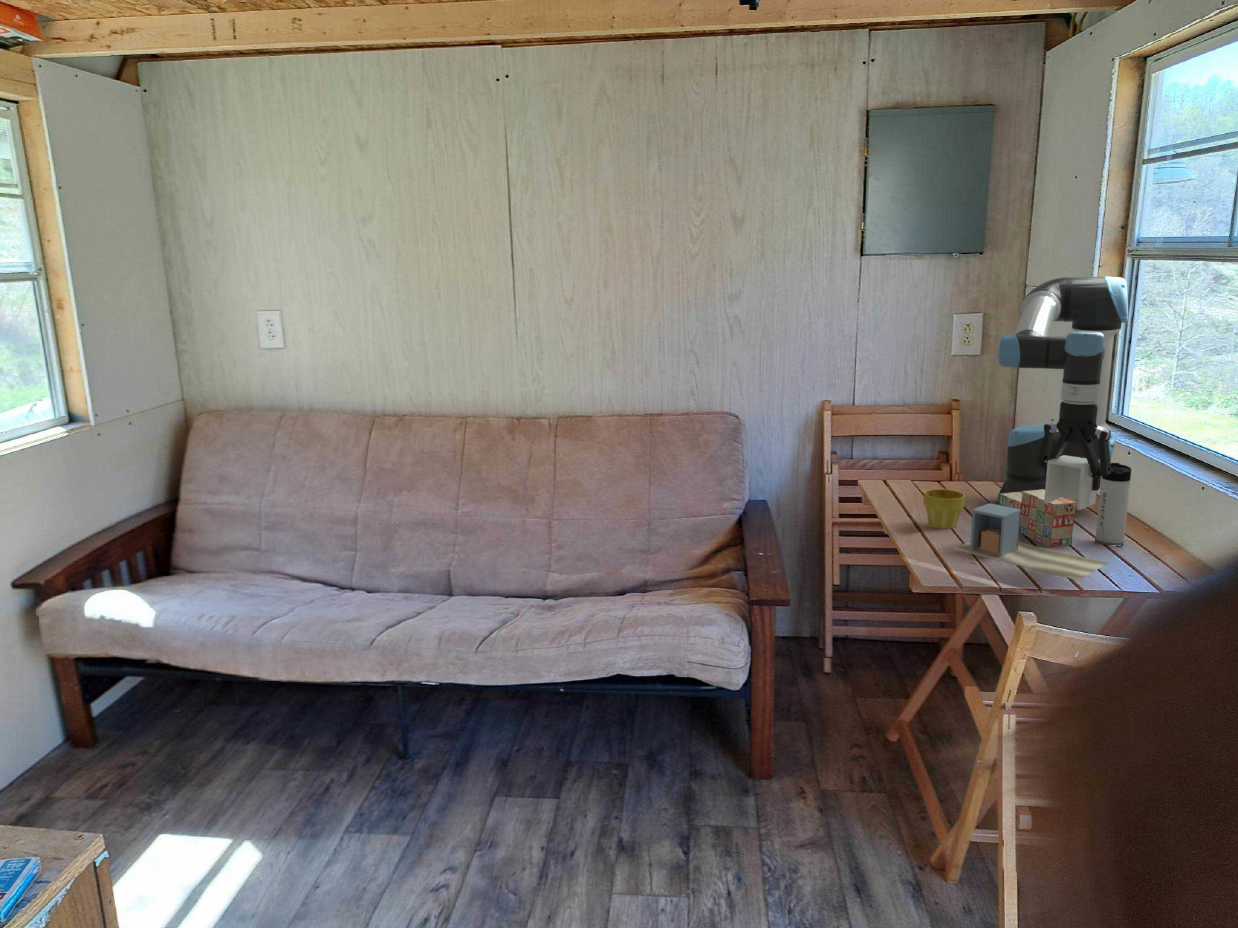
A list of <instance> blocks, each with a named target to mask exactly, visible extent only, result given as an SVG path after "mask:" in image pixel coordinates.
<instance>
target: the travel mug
mask: <svg viewBox="0 0 1238 928" xmlns="http://www.w3.org/2000/svg"><path fill="white" fill-rule="evenodd" d="M1131 476H1132V468H1131V467H1130V466H1128V465H1124V464H1120V463H1119V462H1111V473H1110V474H1107V475H1103V476H1101V483H1100V489H1099V497H1098V498H1099V500H1098V508H1097V509H1098V510H1097V519H1096V530H1095V539H1094V541H1095V543H1096V544H1100V545H1104V546H1108V547H1109V546H1110V545H1122V546H1124V544H1125V537H1126V536H1125V535H1126V528H1127V527H1126V525H1127V518H1128V509H1129V497H1130V490H1131V489H1130V488H1131ZM1123 543H1124V544H1123ZM1110 547H1111V546H1110Z"/></svg>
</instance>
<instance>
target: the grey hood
mask: <svg viewBox="0 0 1238 928" xmlns="http://www.w3.org/2000/svg"><path fill="white" fill-rule="evenodd" d="M1098 461H1099V464H1100V460H1098ZM1091 475H1092V473H1091V470H1090V464H1088V461H1087V459H1086V458H1079V457H1073V456H1066V455H1063V456H1060V457H1059V458H1056V459H1051V460H1049V461H1048V463H1047V475H1046V486H1045V498H1044V503H1046V504H1047V503H1050V502H1052V501H1054V500H1057V499H1059V498H1066V499H1069V500H1071V501H1077V507H1076V509H1077V510H1078V511H1081V510H1084V509H1085V508H1088V507H1090V506H1092V505H1095V504H1097V494H1098V493H1097V491H1098V490H1097V491H1095V500H1094V503H1093V504H1091V505H1086V496H1087V485H1088V476H1091Z"/></svg>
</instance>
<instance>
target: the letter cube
mask: <svg viewBox="0 0 1238 928" xmlns="http://www.w3.org/2000/svg"><path fill="white" fill-rule="evenodd" d="M1000 538H1001V530H1000V529H996V528H988V529H986V530H984V531H982V534H981V549H983V550H987V551H991V552H996V553H999V551H1000Z"/></svg>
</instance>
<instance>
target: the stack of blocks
mask: <svg viewBox="0 0 1238 928" xmlns="http://www.w3.org/2000/svg"><path fill="white" fill-rule="evenodd" d="M1044 498H1045V490H1043V489H1041V490H1032V491H1022V493H1021V492H1012V493H1003V494H1000V497H999V505H1000V506H1005V507H1010V508H1015V509H1020V510H1021V516H1020V528H1019V534H1022V535H1024V536H1026V537H1028V538H1030V539H1032V540H1034V541H1036V542H1037V543H1040V544H1042V545H1044V546H1047V547H1049V548H1053V547H1061V546H1072V544H1073V543H1072V542H1073V532H1074V526H1075V525H1074V524H1075V517H1076V513H1075V512H1076V508H1077V507H1076V504H1077V502H1076V501H1075V500H1072V499H1066V498H1059V499H1057V500H1054V501H1052V502H1050V503H1047V504H1046V503H1044Z"/></svg>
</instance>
